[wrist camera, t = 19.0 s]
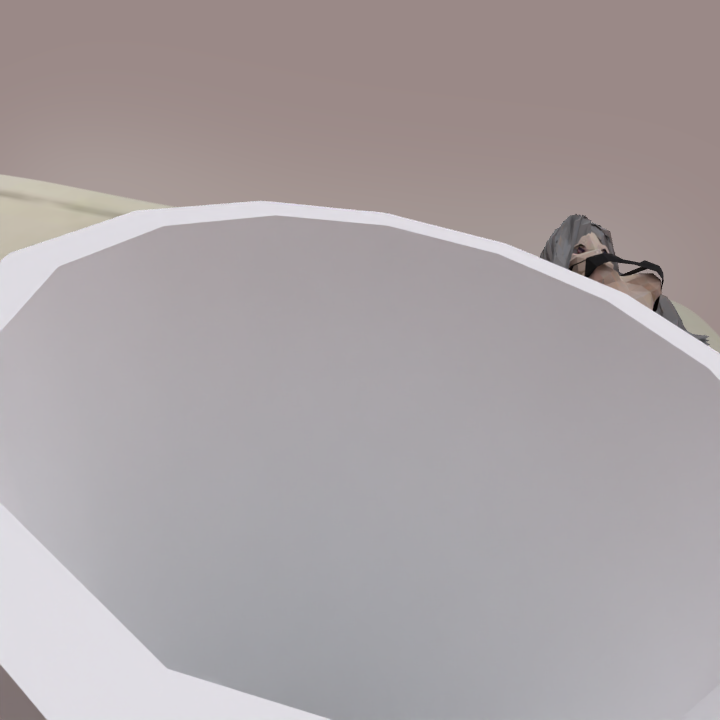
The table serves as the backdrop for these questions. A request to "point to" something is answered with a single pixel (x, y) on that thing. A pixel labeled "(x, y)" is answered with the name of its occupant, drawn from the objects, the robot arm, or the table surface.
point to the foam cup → (347, 478)
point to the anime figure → (608, 265)
